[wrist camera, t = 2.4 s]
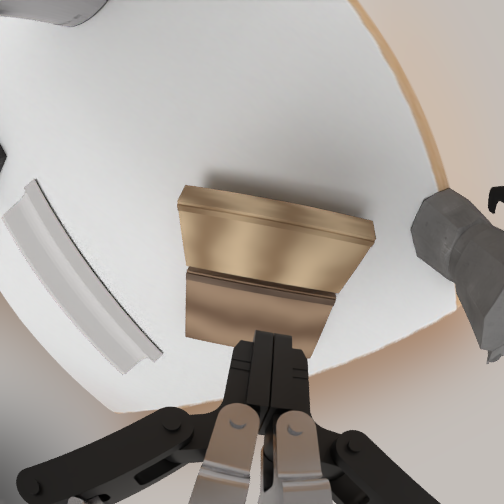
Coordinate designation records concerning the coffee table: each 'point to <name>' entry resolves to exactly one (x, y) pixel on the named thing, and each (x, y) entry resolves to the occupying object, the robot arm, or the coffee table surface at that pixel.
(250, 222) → the oak plank
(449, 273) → the coffeepot
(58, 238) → the crown molding
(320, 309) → the walnut board
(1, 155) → the wireless controller
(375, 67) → the coffee table surface
